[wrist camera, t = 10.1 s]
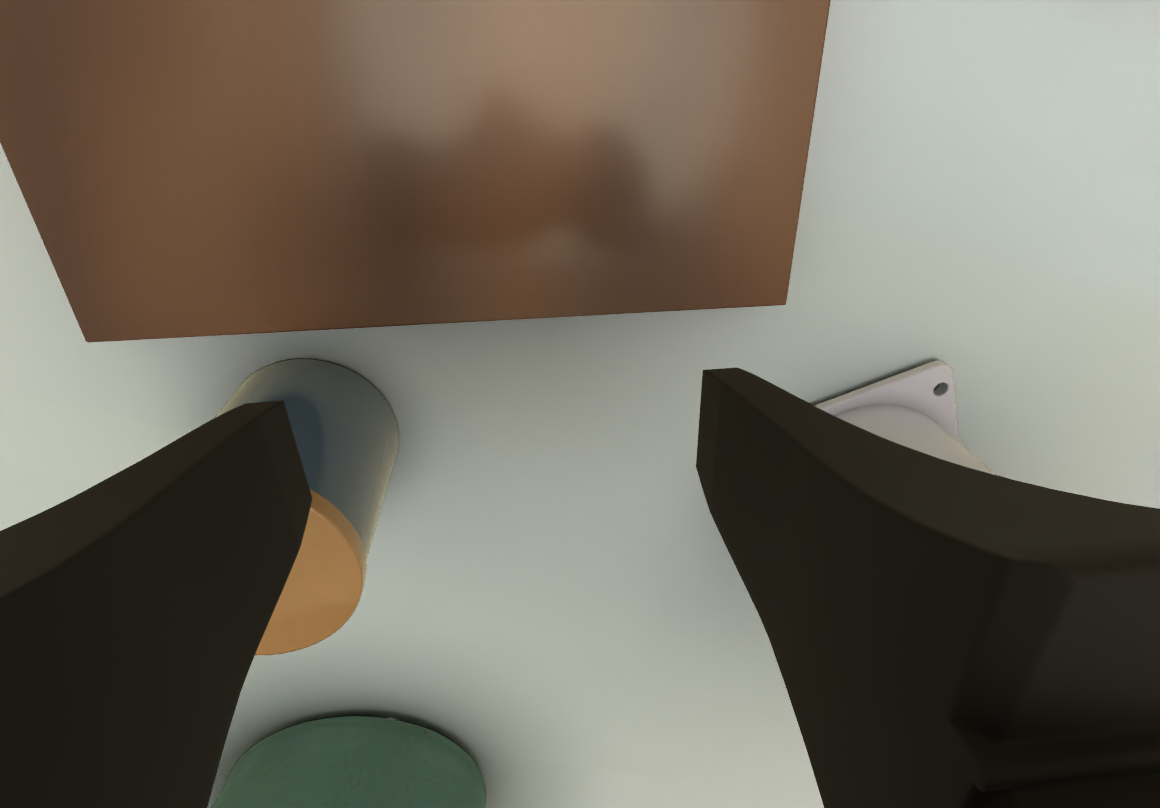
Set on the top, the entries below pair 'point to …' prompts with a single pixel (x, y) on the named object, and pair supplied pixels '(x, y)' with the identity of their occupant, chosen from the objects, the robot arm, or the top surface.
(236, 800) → the flower pot
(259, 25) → the cutting board
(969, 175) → the top surface
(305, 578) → the sugar pot
